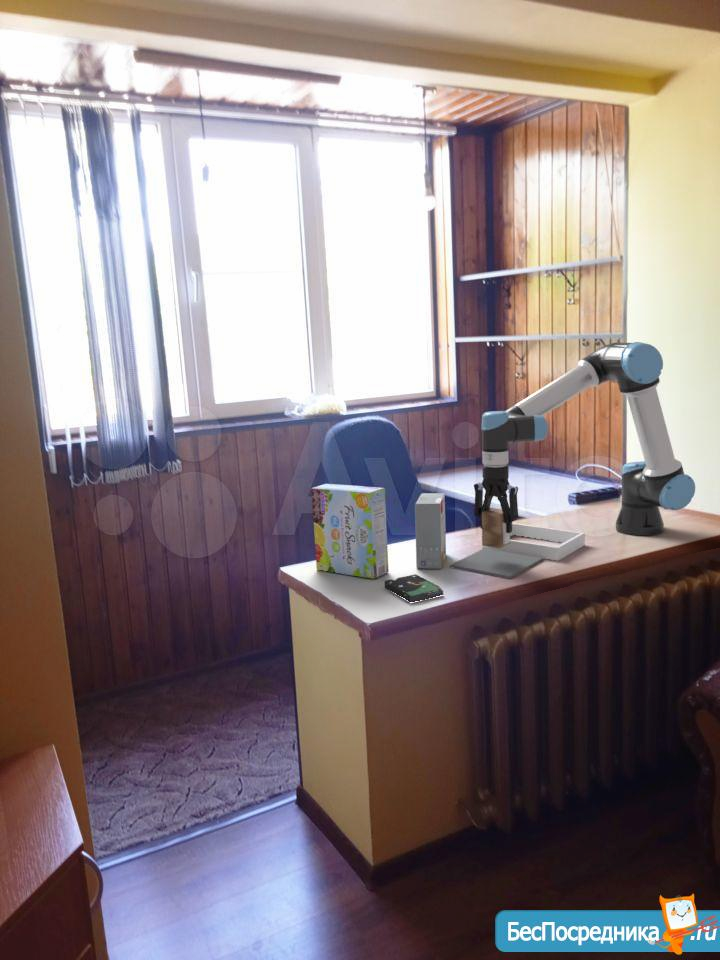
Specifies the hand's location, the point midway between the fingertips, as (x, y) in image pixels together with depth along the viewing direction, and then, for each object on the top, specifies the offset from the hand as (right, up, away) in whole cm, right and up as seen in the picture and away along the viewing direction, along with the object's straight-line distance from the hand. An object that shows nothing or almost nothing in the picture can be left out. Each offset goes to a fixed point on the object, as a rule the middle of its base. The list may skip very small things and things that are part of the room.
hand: (496, 541), depth 226 cm
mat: (0, -7, +1) cm, 7 cm away
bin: (+15, -3, +16) cm, 22 cm away
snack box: (-43, -9, +2) cm, 44 cm away
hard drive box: (-18, -7, +7) cm, 21 cm away
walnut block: (0, -1, 0) cm, 1 cm away
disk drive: (-26, -13, -19) cm, 34 cm away
